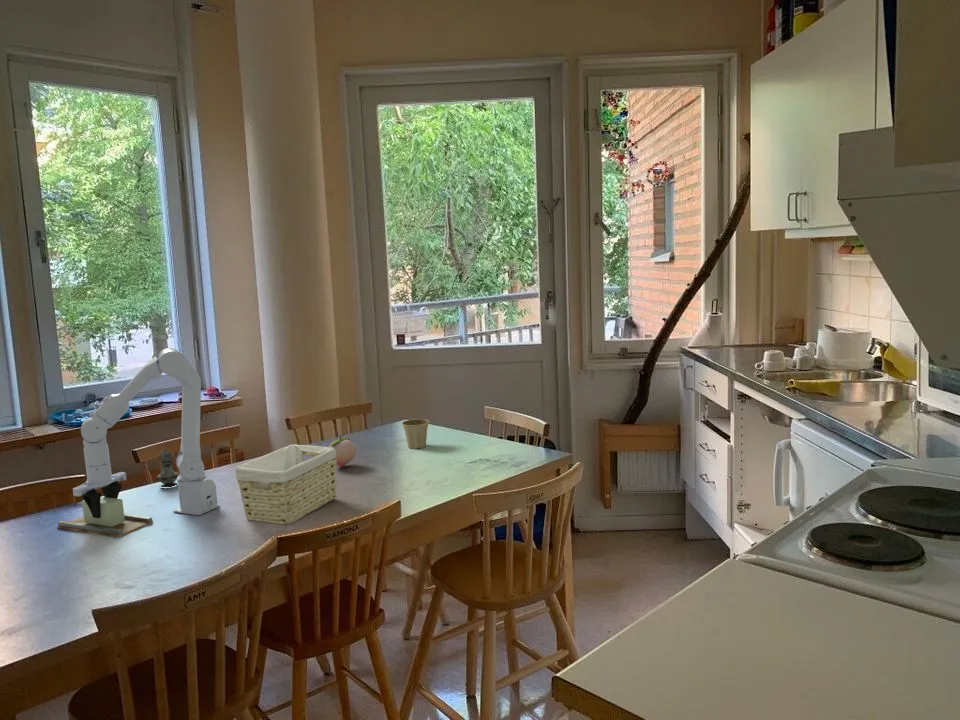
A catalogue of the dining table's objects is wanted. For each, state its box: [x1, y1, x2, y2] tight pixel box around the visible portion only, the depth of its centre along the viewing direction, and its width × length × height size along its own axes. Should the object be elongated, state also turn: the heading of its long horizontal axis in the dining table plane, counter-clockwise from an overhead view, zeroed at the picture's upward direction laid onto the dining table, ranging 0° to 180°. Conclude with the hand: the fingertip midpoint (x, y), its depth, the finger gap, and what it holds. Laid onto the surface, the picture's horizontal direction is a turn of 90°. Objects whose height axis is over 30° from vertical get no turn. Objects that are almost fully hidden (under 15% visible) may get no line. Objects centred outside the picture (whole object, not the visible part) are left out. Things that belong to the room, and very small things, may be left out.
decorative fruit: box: [328, 435, 357, 468], centre depth 245 cm, size 9×8×10 cm
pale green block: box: [81, 496, 125, 527], centre depth 202 cm, size 10×4×6 cm, turn 65°
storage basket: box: [235, 444, 338, 525], centre depth 207 cm, size 24×16×15 cm
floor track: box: [57, 513, 154, 538], centre depth 202 cm, size 22×11×2 cm, turn 65°
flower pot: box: [401, 418, 430, 450], centre depth 266 cm, size 9×9×9 cm
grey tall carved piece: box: [157, 447, 179, 487], centre depth 233 cm, size 6×6×12 cm
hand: (104, 514), depth 202 cm, fingers closed on pale green block, 4 cm apart
